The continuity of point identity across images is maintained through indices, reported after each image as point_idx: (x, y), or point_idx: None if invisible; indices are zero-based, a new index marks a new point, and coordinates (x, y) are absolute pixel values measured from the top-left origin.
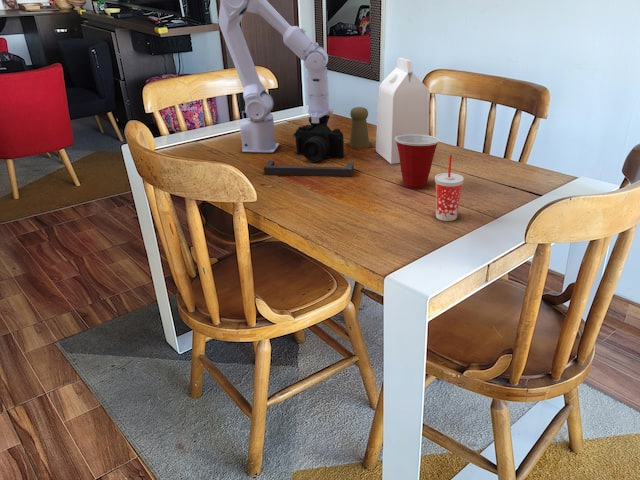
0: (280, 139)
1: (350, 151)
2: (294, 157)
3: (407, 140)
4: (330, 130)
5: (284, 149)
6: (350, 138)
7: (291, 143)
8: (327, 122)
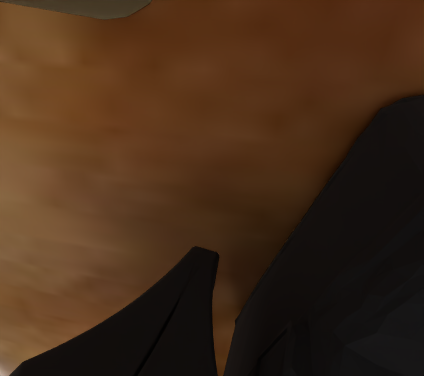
0: None
1: (288, 14)
2: None
3: None
4: (359, 356)
5: None
6: (80, 10)
7: None
8: (91, 345)
